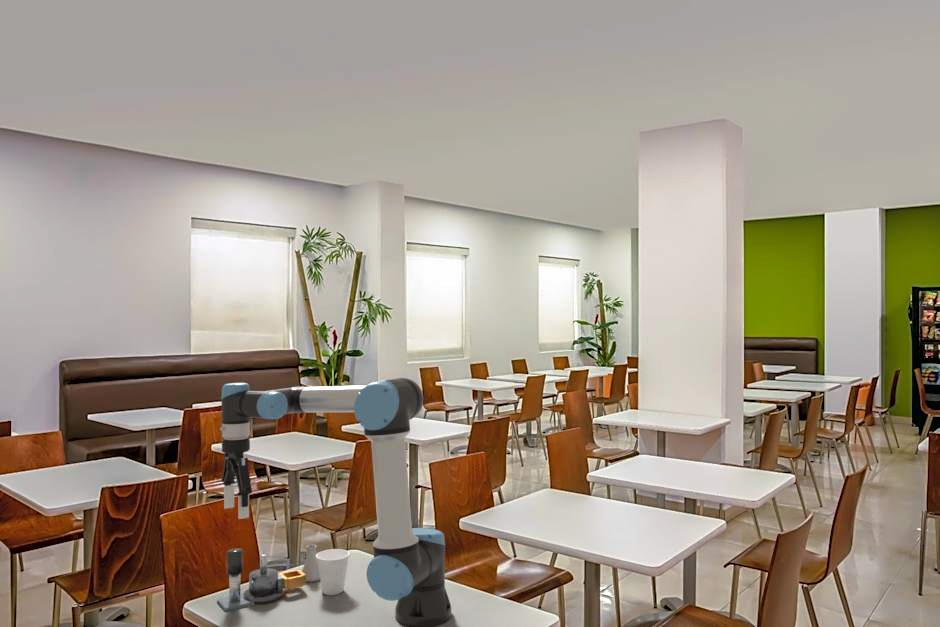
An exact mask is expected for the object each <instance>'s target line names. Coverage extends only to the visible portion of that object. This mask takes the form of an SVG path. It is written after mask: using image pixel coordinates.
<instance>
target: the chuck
mask: <svg viewBox="0 0 940 627" xmlns="http://www.w3.org/2000/svg"><path fill="white" fill-rule="evenodd" d="M306 585H307V582H306V575H305V574H304V573H303V572H302V569H301V570H300V569H292V570H287V571H282V572H281V573H279V571H278V569H274V568H269V567H268V554H266V553H262V554H260V555H259V569H255V570H252V571H251V572H249V574H248V589H249V593H250V594H251V595H254V596H266V595H270V594H273V593H275V592H276V591H277V590H278V589H282V588H283V591H285V590H291V589H297V588H301V587H304V586H306Z"/></svg>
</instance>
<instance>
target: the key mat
mask: <svg viewBox="0 0 940 627" xmlns="http://www.w3.org/2000/svg"><path fill="white" fill-rule="evenodd" d="M216 602H217V603H218V605H219V606H220V607H221V608H222V609H223V611H224V612H228V611H232V610H237V609H241V608H246V607H249V606H255V604H254V601H248V600H246V599H245V598H244V592H243V593H240V601H239V602H236V603H231V602H229V596H225V597H221V598H217V601H216Z"/></svg>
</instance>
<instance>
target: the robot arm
mask: <svg viewBox="0 0 940 627" xmlns="http://www.w3.org/2000/svg"><path fill="white" fill-rule="evenodd" d="M220 401H221V427H219V430H220V431H221V437H222V440H221V452H222V453H224V461H223V468H222V474H221V482H222V483H223V492H224V493H223V500H224V501H223V503H224V504H223V508H224V509H225V510H228V509H234V508H235V484H236V483H237V487H238V492H237V494H236V496H237V498H238V499H237V500H238V501H237V503H238V504H237V505H238V509H237V510H238V514H237V518H238V520H241V519H242V520H243V519H249V518H250V494H252V493H253V489H252V485H251V484H252V483H251V476H250V469H249V458H248V457H244V454H245V453H247V452H249V451H250V448H251V446H250V445H251V444H250V443H251V442H250V441H251V439H250V438H249V436H251V425H250V424H251V422H250V419H251V418H252V419H253V418H254V419H266V420H278V419H281V418H282V417H283V416H285V415H289V414H306V413H308V414H309V413H322V414H323V413H354V416H355V418H356V420H357V422H359V423H360V424H359V425H360V426H361V427H362V428H363V431H364V437H365V438H366V439H367V440H369V441H370V444H371V445H370V446H371V457H372V470H373V484H374V494H375V495H374V496H375V508H376V520H377V522H376V523H377V535H378V536H377V538H376V539H375V540H374V541H373V543H372V550H373V552H372V553H373V558H372V559H371V560H370V561H369V563H368V565H367V568H366V580H367V583H368V585H369V587H370V589H371V590H372V592H374V593H375V594H376V595H377V596H378V597H379V598H381V599H383V600H384V601H385V600H386V601H389V602H391V601H393V602H394V601H397V602H396V605H395V609H394V610H395V613H394V614H395V616H394V618H395V619H396V621H397V622H398V623H399V624H401V625H403V626H408V627H435V626H439V625H441V624H445V623H446V622H448V621H449V620H450V619H451V617H452V605H451V601H450V599H449V596H448V592H447V589H446V586H445V585H446V584H445V580H446V579H445V578H446V574H445V573H446V571H445V570H446V567H445V566H446V561H445V560H446V557H445V556H446V555H445V554H446V542H445V535H444V533H443V532H442V531H440V530H439V529H434V528H429V527H428V528H427V527H425V528H424V527H413V528H412V513H411V512H412V511H411V503H410V502H411V501H410V500H411V499H410V490H409V488H410V487H409V476H408V473H409V472H408V463H407V450H406V437H407V436H408V435H409V434H410V433H411V426H410V424H411V422H410V421H411V420H412V419H415V417H416V416H418V415H419V414H420V412H421V411H422V408H423V406H424V393H423V391H422V389H421V387H420V386H419V384H417V382H415V381H414V380H413V379H409V378H408V377H407V378H405V377H398V378H392V379H385V380H382V379H381V380H377V381H374V382H371V383H368V384H366V385H332V386H331V385H327V386H324V385H323V386H302V385H300V386H299V385H298V386H295V385H294V386H292V387H286V388H278V389H270V390H263V391H262V390H251V389H250V384H249V383H246V382H232V383H225V384H223V386H222V388H221V398H220ZM235 479H236V480H235Z"/></svg>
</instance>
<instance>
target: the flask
mask: <svg viewBox="0 0 940 627" xmlns="http://www.w3.org/2000/svg"><path fill="white" fill-rule="evenodd" d="M305 549H306V556H305V560H304V564H303V567H302V569H301V571H302V572H303V573H304V574H305V575H306V583H307V582H309V583H313V582H315V583H316V582H318V581H321V580H320V574H319V569H318V563H317V558H316V554H317V550H316V549H317V544H308V545H306V546H305Z"/></svg>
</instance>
